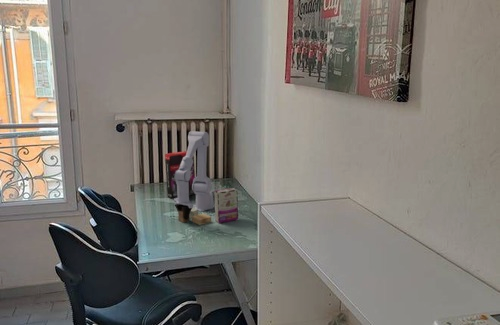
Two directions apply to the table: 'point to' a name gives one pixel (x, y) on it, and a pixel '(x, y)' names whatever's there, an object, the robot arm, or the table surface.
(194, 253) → the table surface
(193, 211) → the sage block
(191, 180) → the graphics card box
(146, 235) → the table surface
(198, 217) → the oak slab
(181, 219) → the walnut block
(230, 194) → the candy bar box
